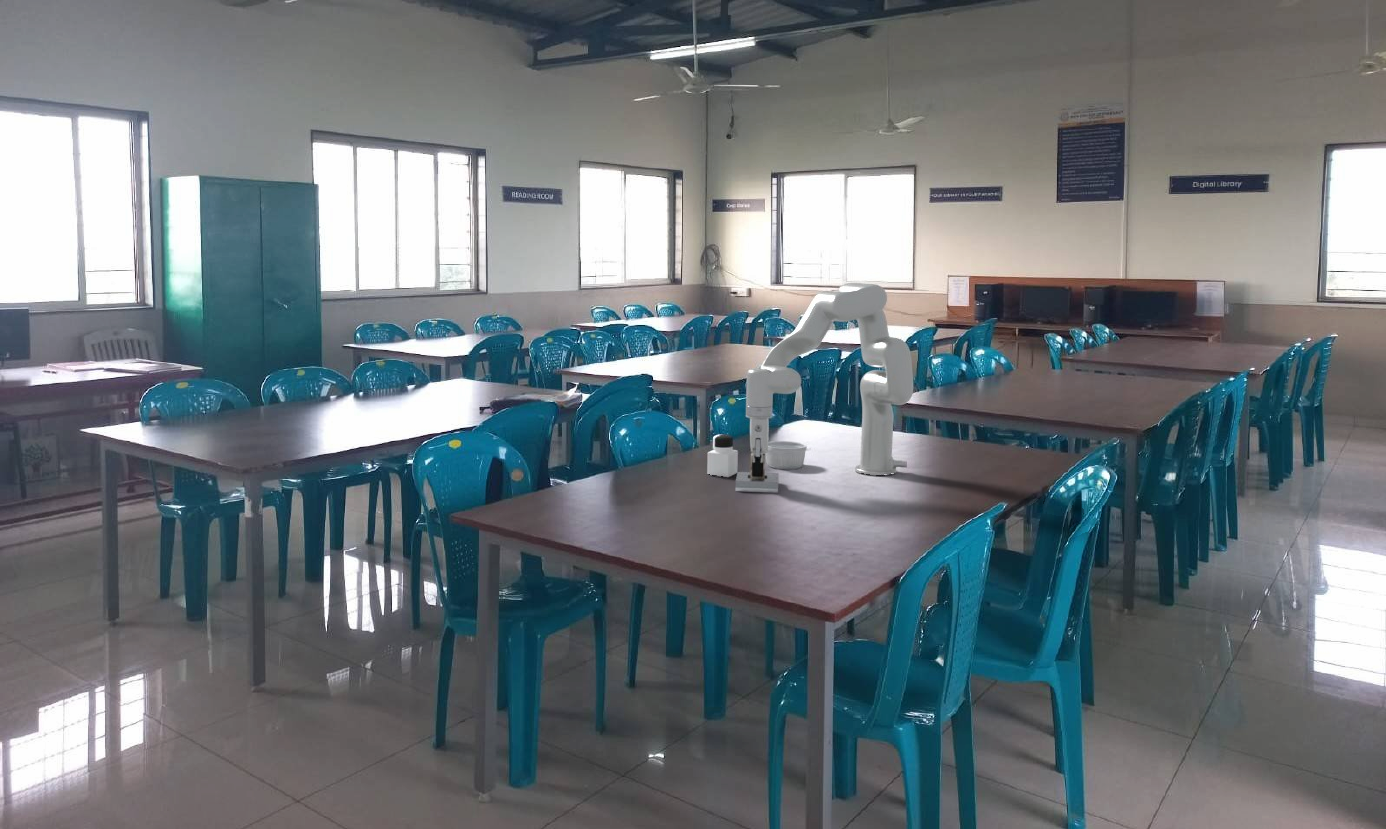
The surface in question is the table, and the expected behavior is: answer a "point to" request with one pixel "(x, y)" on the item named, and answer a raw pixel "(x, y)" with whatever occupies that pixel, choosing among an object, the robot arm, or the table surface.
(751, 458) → the beige upright block
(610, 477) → the table surface
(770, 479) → the plate
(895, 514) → the table surface
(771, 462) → the ramekin
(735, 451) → the medicine bottle
